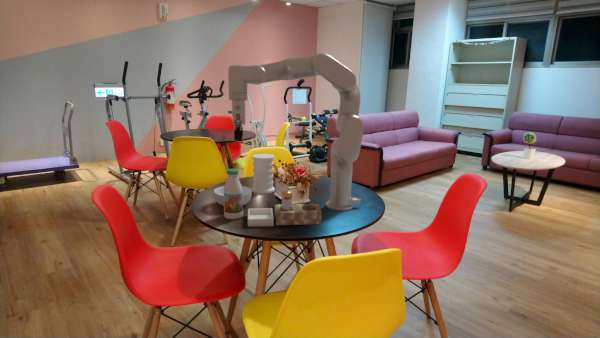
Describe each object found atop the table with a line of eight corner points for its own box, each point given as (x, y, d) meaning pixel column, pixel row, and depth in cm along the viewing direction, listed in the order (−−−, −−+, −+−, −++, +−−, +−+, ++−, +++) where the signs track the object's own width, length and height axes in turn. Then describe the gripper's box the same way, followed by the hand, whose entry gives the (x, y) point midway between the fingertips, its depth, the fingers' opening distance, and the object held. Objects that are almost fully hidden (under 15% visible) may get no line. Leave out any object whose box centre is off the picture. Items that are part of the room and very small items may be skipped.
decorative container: (249, 193, 184) (248, 157, 179) (254, 186, 195) (254, 153, 191) (272, 194, 183) (272, 159, 178) (276, 187, 194) (276, 154, 189)
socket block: (317, 214, 158) (317, 201, 156) (321, 224, 148) (321, 209, 147) (274, 215, 156) (274, 202, 154) (276, 225, 146) (276, 210, 145)
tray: (272, 214, 156) (272, 208, 156) (273, 226, 145) (273, 218, 144) (248, 215, 155) (248, 208, 154) (247, 226, 144) (247, 219, 143)
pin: (290, 218, 154) (291, 190, 151) (291, 221, 150) (292, 193, 147) (281, 218, 153) (281, 190, 150) (281, 222, 149) (282, 193, 146)
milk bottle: (220, 216, 154) (219, 169, 149) (235, 211, 159) (235, 166, 154) (231, 221, 148) (230, 173, 143) (246, 216, 154) (246, 170, 149)
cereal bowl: (249, 212, 159) (249, 196, 157) (210, 211, 159) (209, 195, 157) (253, 199, 175) (253, 185, 174) (218, 198, 175) (218, 184, 173)
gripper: (247, 98, 144) (247, 141, 148) (247, 95, 160) (247, 134, 164) (227, 97, 143) (228, 141, 147) (229, 95, 159) (230, 134, 163)
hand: (238, 138), depth 156 cm, fingers open, 9 cm apart
